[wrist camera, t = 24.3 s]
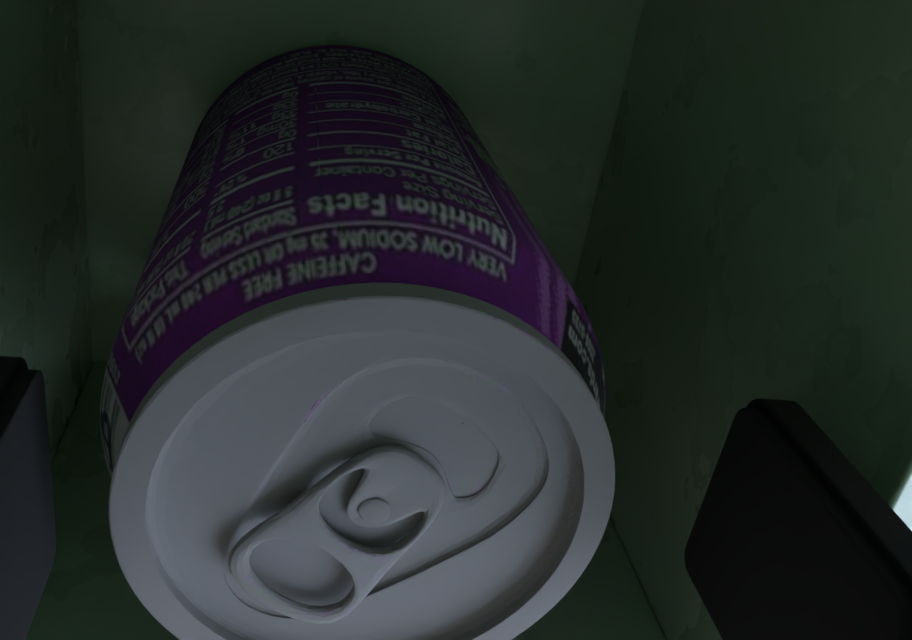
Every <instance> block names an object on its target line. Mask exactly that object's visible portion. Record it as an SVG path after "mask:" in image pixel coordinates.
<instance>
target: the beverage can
mask: <svg viewBox="0 0 912 640" xmlns="http://www.w3.org/2000/svg"><path fill="white" fill-rule="evenodd" d="M605 397H606V393H605V375H604V368H603V361H602V357H601V353H600V348H599V344H598V341H597V339H596V336H595V333H594V330H593V327H592V325H591V323H590V320H589V318H588V316H587V314H586V312H585V309H584V307H583V305H582V304H581V302H580V300H579V298H578V297H577V295H576V293H575V292H574V290H573V288H572V287H571V285H570V283H569V282H568V280H567V279H566V277H565V275H564V274H563V272H562V271H561V269H560V267H559V266H558V264H557V263H556V261H555V259H554V258H553V256H552V254H551V253H550V251H549V250H548V248H547V246H546V245H545V243H544V242H543V240H542V238H541V237H540V235H539V234H538V232H537V230H536V229H535V227H534V226H533V224H532V222H531V221H530V219H529V217H528V216H527V214H526V213H525V211H524V209H523V208H522V206H521V205H520V203H519V201H518V200H517V198H516V197H515V195H514V193H513V192H512V190H511V189H510V187H509V185H508V184H507V182H506V180H505V179H504V177H503V176H502V174H501V172H500V171H499V169H498V168H497V166H496V164H495V163H494V161H493V160H492V158H491V156H490V155H489V153H488V152H487V150H486V148H485V147H484V145H483V143H482V142H481V140H480V139H479V137H478V135H477V134H476V132H475V131H474V129H473V127H472V126H471V124H470V123H469V121H468V119H467V118H466V116H465V115H464V113H463V112H462V110H461V109H460V107H459V106H458V105H457V103H456V102H455V101H454V100H453V99H452V97H451V96H450V95H449V94H448V93H447V92H446V91H445V90H444V89H443V88H442V87H441V86H440V85H439V84H438V83H436V82H435V81H434V80H433V79H432V78H430V77H429V76H428V75H426V74H425V73H423V72H422V71H420V70H419V69H417V68H416V67H414V66H412V65H410V64H408V63H406V62H404V61H403V60H400V59H398V58H396V57H393V56H391V55H388V54H385V53H382V52H379V51H375V50H371V49H367V48H361V47H355V46H344V45H324V46H313V47H307V48H302V49H297V50H294V51H290V52H287V53H284V54H281V55H278V56H275V57H273V58H271V59H268V60H266V61H264V62H262V63H260V64H259V65H257V66H255V67H253V68H252V69H250V70H249V71H247V72H246V73H244V74H243V75H241V76H240V77H239V78H238V79H236V80H235V81H234V82H233V83H232V84H231V85H230V86H228V87H227V88H226V89H225V90H224V91H223V92H222V94H221V95H220V96H219V97H218V98H217V99H216V100H215V102H214V103H213V104H212V106H211V107H210V108H209V110H208V111H207V113H206V115H205V116H204V118H203V119H202V121H201V123H200V125H199V127H198V129H197V131H196V134H195V136H194V139H193V141H192V144H191V147H190V149H189V152H188V154H187V157H186V159H185V162H184V164H183V167H182V170H181V172H180V175H179V177H178V180H177V182H176V185H175V187H174V190H173V193H172V195H171V198H170V200H169V203H168V205H167V208H166V210H165V213H164V216H163V218H162V221H161V223H160V226H159V228H158V231H157V233H156V236H155V239H154V241H153V244H152V246H151V249H150V251H149V254H148V257H147V259H146V262H145V264H144V267H143V269H142V272H141V274H140V277H139V280H138V282H137V285H136V287H135V290H134V292H133V295H132V297H131V300H130V303H129V305H128V308H127V310H126V313H125V315H124V318H123V320H122V323H121V326H120V328H119V331H118V333H117V336H116V338H115V341H114V343H113V346H112V349H111V352H110V355H109V359H108V362H107V366H106V370H105V375H104V381H103V386H102V391H101V402H100V430H101V438H102V446H103V451H104V455H105V459H106V464H107V467H108V470H109V473H110V476H111V484H110V493H109V525H110V533H111V538H112V542H113V547H114V551H115V554H116V556H117V559H118V562H119V565H120V567H121V569H122V571H123V574H124V576H125V578H126V580H127V582H128V583H129V585H130V587H131V588H132V590H133V592H134V593H135V595H136V596H137V597H138V599H139V600H140V601H141V603H142V604H143V605H144V607H145V608H146V609H147V610H148V611H149V612H150V613H151V615H152V616H153V617H154V618H155V619H156V620H157V621H158V622H159V623H160V624H161V625H162V626H164V627H165V628H166V629H167V630H168V631H169V632H171V633H172V634H173V635H174V636H176V637H177V638H178V639H179V640H511V639H513V638H514V637H516V636H517V635H519V634H520V633H522V632H523V631H525V630H526V629H527V628H529V627H530V626H531V625H533V624H534V623H535V622H536V621H538V620H539V619H540V618H541V617H543V616H544V615H545V614H546V613H547V612H548V611H549V610H550V609H552V608H553V607H554V606H555V605H556V604H557V603H558V602H559V601H560V600H561V599H562V598H563V596H564V595H565V594H566V593H567V592H568V591H569V590H570V588H571V587H572V586H573V585H574V584H575V582H576V581H577V580H578V578H579V577H580V576H581V574H582V573H583V571H584V570H585V568H586V567H587V565H588V564H589V562H590V560H591V559H592V557H593V555H594V553H595V551H596V549H597V548H598V546H599V543H600V541H601V539H602V536H603V534H604V532H605V529H606V526H607V523H608V520H609V516H610V512H611V508H612V503H613V496H614V489H615V461H614V454H613V447H612V442H611V438H610V435H609V431H608V428H607V425H606V422H605V420H604V415H605Z"/></svg>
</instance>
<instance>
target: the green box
mask: <svg viewBox="0 0 912 640" xmlns="http://www.w3.org/2000/svg"><path fill="white" fill-rule="evenodd" d="M324 45H344V46H355V47H361V48H367V49H371V50H375V51H379V52H382V53H385V54H388V55H391V56H393V57H396V58H398V59H400V60H403V61H404V62H406V63H408V64H410V65H412V66H414V67H416V68H417V69H419V70H420V71H422V72H423V73H425V74H426V75H428V76H429V77H430V78H432V79H433V80H434V81H435V82H436V83H438V84H439V85H440V86H441V87H442V88H443V89H444V90H445V91H446V92H447V93H448V94H449V95H450V96H451V97H452V99H453V100H454V101H455V102H456V103H457V105H458V106H459V107H460V109H461V110H462V112H463V113H464V115H465V116H466V118H467V119H468V121H469V123H470V124H471V126H472V127H473V129H474V131H475V132H476V134H477V135H478V137H479V139H480V140H481V142H482V143H483V145H484V147H485V148H486V150H487V152H488V153H489V155H490V156H491V158H492V160H493V161H494V163H495V164H496V166H497V168H498V169H499V171H500V172H501V174H502V176H503V177H504V179H505V180H506V182H507V184H508V185H509V187H510V189H511V190H512V192H513V193H514V195H515V197H516V198H517V200H518V201H519V203H520V205H521V206H522V208H523V209H524V211H525V213H526V214H527V216H528V217H529V219H530V221H531V222H532V224H533V226H534V227H535V229H536V230H537V232H538V234H539V235H540V237H541V238H542V240H543V242H544V243H545V245H546V246H547V248H548V250H549V251H550V253H551V254H552V256H553V258H554V259H555V261H556V263H557V264H558V266H559V267H560V269H561V271H562V272H563V274H564V275H565V277H566V279H567V280H568V282H569V283H570V285H571V287H572V288H573V290H574V292H575V293H576V295H577V297H578V298H579V300H580V302H581V304H582V305H583V307H584V309H585V312H586V314H587V316H588V318H589V320H590V323H591V325H592V327H593V330H594V333H595V336H596V339H597V341H598V344H599V348H600V353H601V357H602V361H603V368H604V375H605V393H606V397H605V415H604V420H605V422H606V425H607V428H608V431H609V435H610V438H611V442H612V447H613V454H614V461H615V489H614V496H613V503H612V508H611V512H610V516H609V520H608V523H607V526H606V529H605V532H604V534H603V536H602V539H601V541H600V543H599V546H598V548H597V549H596V551H595V553H594V555H593V557H592V559H591V560H590V562H589V564H588V565H587V567H586V568H585V570H584V571H583V573H582V574H581V576H580V577H579V578H578V580H577V581H576V582H575V584H574V585H573V586H572V587H571V588H570V590H569V591H568V592H567V593H566V594H565V595H564V596H563V598H562V599H561V600H560V601H559V602H558V603H557V604H556V605H555V606H554V607H553V608H552V609H550V610H549V611H548V612H547V613H546V614H545V615H544V616H543V617H541V618H540V619H539V620H538V621H536V622H535V623H534V624H533V625H531V626H530V627H529V628H527V629H526V630H525V631H523V632H522V633H520V634H519V635H517V636H516V637H514V638H513V639H511V640H722V638H721V636H720V634H719V632H718V630H717V628H716V626H715V624H714V622H713V620H712V619H711V617H710V615H709V613H708V611H707V609H706V607H705V605H704V603H703V601H702V599H701V598H700V596H699V594H698V592H697V590H696V588H695V586H694V584H693V582H692V580H691V578H690V577H689V575H688V572H687V570H686V566H685V559H684V554H685V547H686V544H687V541H688V539H689V536H690V533H691V531H692V528H693V525H694V523H695V520H696V517H697V515H698V512H699V510H700V507H701V504H702V502H703V499H704V496H705V494H706V491H707V488H708V486H709V483H710V480H711V478H712V475H713V472H714V470H715V467H716V465H717V462H718V459H719V457H720V454H721V451H722V449H723V446H724V443H725V441H726V438H727V435H728V433H729V430H730V428H731V425H732V422H733V420H734V417H735V415H736V413H737V412H738V411H739V410H740V409H742V408H746V406H747V405H748V404H749V403H750V402H751V401H752V400H754V399H774V400H790V401H795V402H796V403H798V404H799V405H800V406H801V407H802V408H803V409H804V410H805V411H806V413H807V414H808V415H809V416H810V417H811V418H812V419H813V420H814V422H815V423H816V424H817V425H818V426H819V427H820V428H821V429H822V431H823V432H824V433H825V434H826V435H827V436H828V437H829V438H830V440H831V441H832V442H833V443H834V444H835V445H836V446H837V447H838V449H839V450H840V451H841V452H842V453H843V454H844V455H845V456H846V458H847V459H848V460H849V461H850V462H851V463H852V464H853V465H854V467H855V468H856V469H857V470H858V471H859V472H860V473H861V474H862V476H863V477H864V478H865V479H866V480H867V481H868V482H869V483H870V485H871V486H872V487H873V488H874V489H875V490H876V491H877V492H878V494H879V495H880V496H881V497H882V498H883V499H884V500H885V501H886V503H887V504H888V505H889V506H890V507H891V508H892V509H893V510H894V512H895V513H896V514H897V515H898V516H899V517H900V518H901V519H902V521H903V522H904V523H905V524H906V525H907V526H908V527H909V528H910V530H911V531H912V0H0V356H10V357H23V358H24V359H25V360H26V363H27V365H28V369H30V370H40V371H42V373H43V376H44V384H45V396H46V409H47V422H48V435H49V447H50V460H51V473H52V486H53V498H54V511H55V524H56V551H55V557H54V562H53V566H52V569H51V571H50V574H49V577H48V580H47V582H46V585H45V588H44V590H43V593H42V596H41V599H40V601H39V604H38V607H37V609H36V612H35V615H34V618H33V620H32V623H31V626H30V628H29V631H28V634H27V637H26V639H25V640H179V639H178V638H177V637H176V636H174V635H173V634H172V633H171V632H169V631H168V630H167V629H166V628H165V627H164V626H162V625H161V624H160V623H159V622H158V621H157V620H156V619H155V618H154V617H153V616H152V615H151V613H150V612H149V611H148V610H147V609H146V608H145V607H144V605H143V604H142V603H141V601H140V600H139V599H138V597H137V596H136V595H135V593H134V592H133V590H132V588H131V587H130V585H129V583H128V582H127V580H126V578H125V576H124V574H123V571H122V569H121V567H120V565H119V562H118V559H117V556H116V554H115V551H114V547H113V542H112V538H111V533H110V525H109V493H110V484H111V476H110V473H109V470H108V467H107V464H106V459H105V455H104V451H103V446H102V438H101V430H100V402H101V391H102V386H103V381H104V375H105V370H106V366H107V362H108V359H109V355H110V352H111V349H112V346H113V343H114V341H115V338H116V336H117V333H118V331H119V328H120V326H121V323H122V320H123V318H124V315H125V313H126V310H127V308H128V305H129V303H130V300H131V297H132V295H133V292H134V290H135V287H136V285H137V282H138V280H139V277H140V274H141V272H142V269H143V267H144V264H145V262H146V259H147V257H148V254H149V251H150V249H151V246H152V244H153V241H154V239H155V236H156V233H157V231H158V228H159V226H160V223H161V221H162V218H163V216H164V213H165V210H166V208H167V205H168V203H169V200H170V198H171V195H172V193H173V190H174V187H175V185H176V182H177V180H178V177H179V175H180V172H181V170H182V167H183V164H184V162H185V159H186V157H187V154H188V152H189V149H190V147H191V144H192V141H193V139H194V136H195V134H196V131H197V129H198V127H199V125H200V123H201V121H202V119H203V118H204V116H205V115H206V113H207V111H208V110H209V108H210V107H211V106H212V104H213V103H214V102H215V100H216V99H217V98H218V97H219V96H220V95H221V94H222V92H223V91H224V90H225V89H226V88H227V87H228V86H230V85H231V84H232V83H233V82H234V81H235V80H236V79H238V78H239V77H240V76H241V75H243V74H244V73H246V72H247V71H249V70H250V69H252V68H253V67H255V66H257V65H259V64H260V63H262V62H264V61H266V60H268V59H271V58H273V57H275V56H278V55H281V54H284V53H287V52H290V51H294V50H297V49H302V48H307V47H313V46H324Z"/></svg>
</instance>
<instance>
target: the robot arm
mask: <svg viewBox="0 0 912 640" xmlns="http://www.w3.org/2000/svg"><path fill="white" fill-rule="evenodd" d="M55 551H56V524H55V511H54V498H53V486H52V473H51V460H50V447H49V435H48V422H47V409H46V396H45V384H44V376H43V373H42V371H40V370H30V369H28V365H27V363H26V360H25V359H24V358H23V357H10V356H0V640H25V639H26V637H27V634H28V631H29V628H30V626H31V623H32V620H33V618H34V615H35V612H36V609H37V607H38V604H39V601H40V599H41V596H42V593H43V590H44V588H45V585H46V582H47V580H48V577H49V574H50V571H51V569H52V566H53V562H54V557H55ZM684 559H685V566H686V570H687V572H688V575H689V577H690V578H691V580H692V582H693V584H694V586H695V588H696V590H697V592H698V594H699V596H700V598H701V599H702V601H703V603H704V605H705V607H706V609H707V611H708V613H709V615H710V617H711V619H712V620H713V622H714V624H715V626H716V628H717V630H718V632H719V634H720V636H721V638H722V640H912V531H911V530H910V528H909V527H908V526H907V525H906V524H905V523H904V522H903V521H902V519H901V518H900V517H899V516H898V515H897V514H896V513H895V512H894V510H893V509H892V508H891V507H890V506H889V505H888V504H887V503H886V501H885V500H884V499H883V498H882V497H881V496H880V495H879V494H878V492H877V491H876V490H875V489H874V488H873V487H872V486H871V485H870V483H869V482H868V481H867V480H866V479H865V478H864V477H863V476H862V474H861V473H860V472H859V471H858V470H857V469H856V468H855V467H854V465H853V464H852V463H851V462H850V461H849V460H848V459H847V458H846V456H845V455H844V454H843V453H842V452H841V451H840V450H839V449H838V447H837V446H836V445H835V444H834V443H833V442H832V441H831V440H830V438H829V437H828V436H827V435H826V434H825V433H824V432H823V431H822V429H821V428H820V427H819V426H818V425H817V424H816V423H815V422H814V420H813V419H812V418H811V417H810V416H809V415H808V414H807V413H806V411H805V410H804V409H803V408H802V407H801V406H800V405H799V404H798V403H796V402H795V401H790V400H774V399H754V400H752V401H751V402H750V403H749V404H748V405H747V406H746V408H742V409H740V410H739V411H738V412H737V413H736V415H735V417H734V420H733V422H732V425H731V428H730V430H729V433H728V435H727V438H726V441H725V443H724V446H723V449H722V451H721V454H720V457H719V459H718V462H717V465H716V467H715V470H714V472H713V475H712V478H711V480H710V483H709V486H708V488H707V491H706V494H705V496H704V499H703V502H702V504H701V507H700V510H699V512H698V515H697V517H696V520H695V523H694V525H693V528H692V531H691V533H690V536H689V539H688V541H687V544H686V547H685V554H684Z"/></svg>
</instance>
